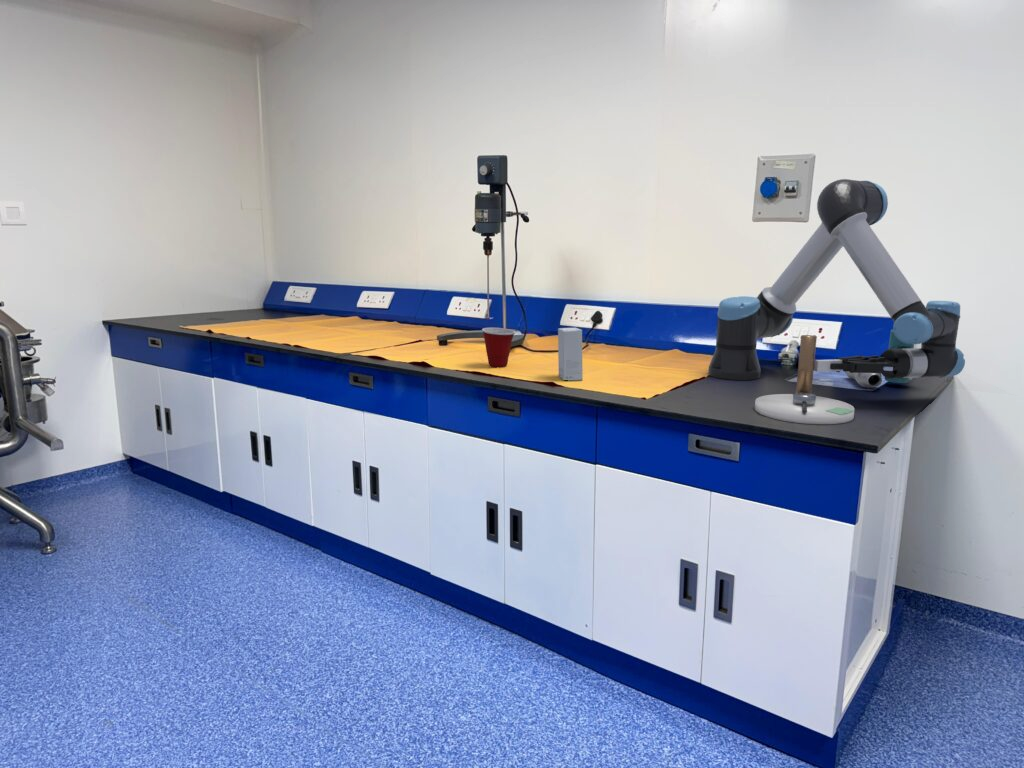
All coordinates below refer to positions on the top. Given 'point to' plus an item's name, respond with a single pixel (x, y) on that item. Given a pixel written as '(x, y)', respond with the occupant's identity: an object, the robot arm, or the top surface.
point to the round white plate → (816, 414)
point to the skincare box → (570, 353)
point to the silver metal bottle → (866, 379)
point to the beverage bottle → (897, 344)
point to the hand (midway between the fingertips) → (816, 365)
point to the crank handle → (805, 372)
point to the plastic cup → (498, 345)
